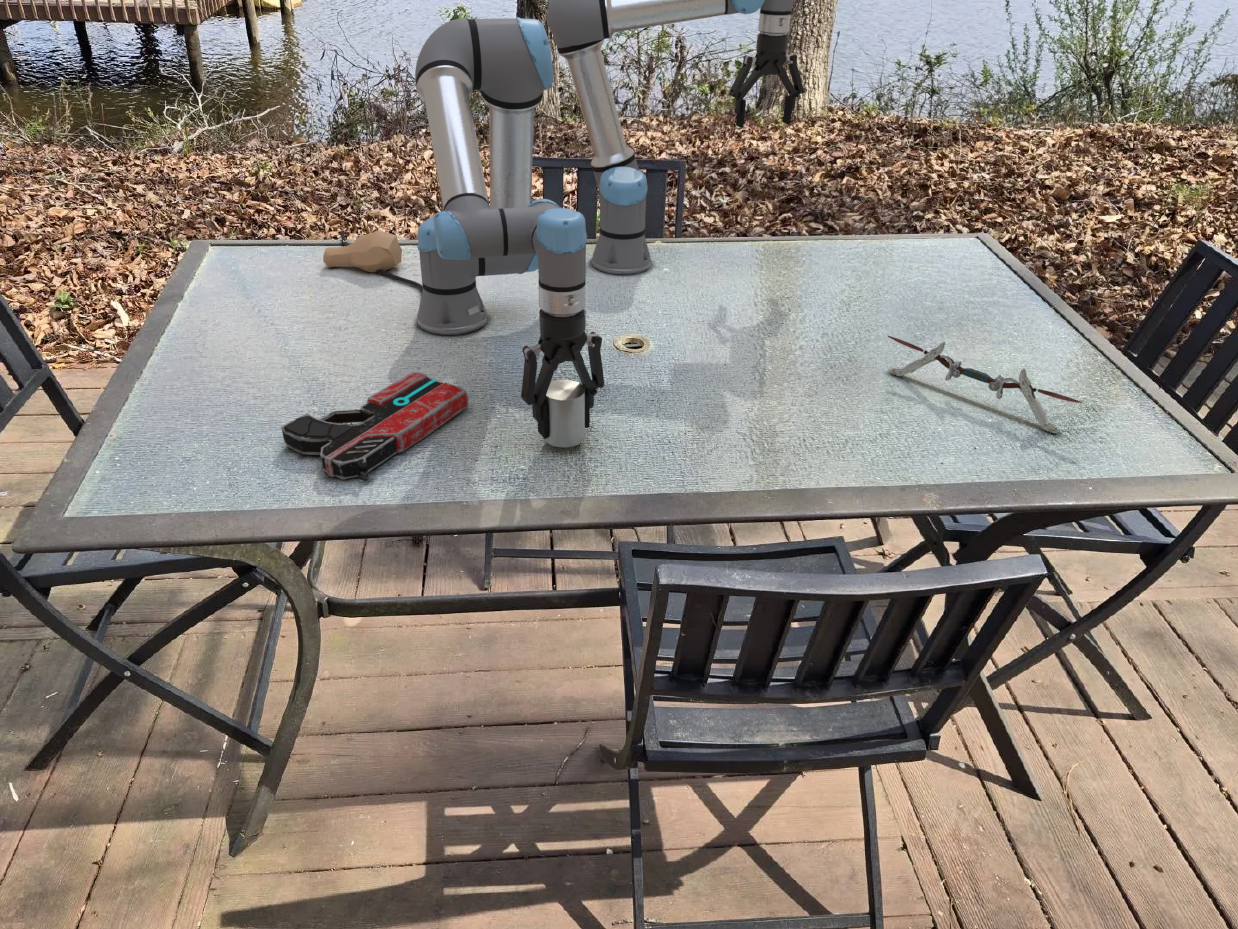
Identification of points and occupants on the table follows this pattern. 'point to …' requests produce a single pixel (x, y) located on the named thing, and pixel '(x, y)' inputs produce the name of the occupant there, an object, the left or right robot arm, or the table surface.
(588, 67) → the right robot arm
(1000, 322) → the table surface
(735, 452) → the table surface
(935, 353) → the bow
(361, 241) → the squash
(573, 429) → the tin
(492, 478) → the table surface
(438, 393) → the gun
